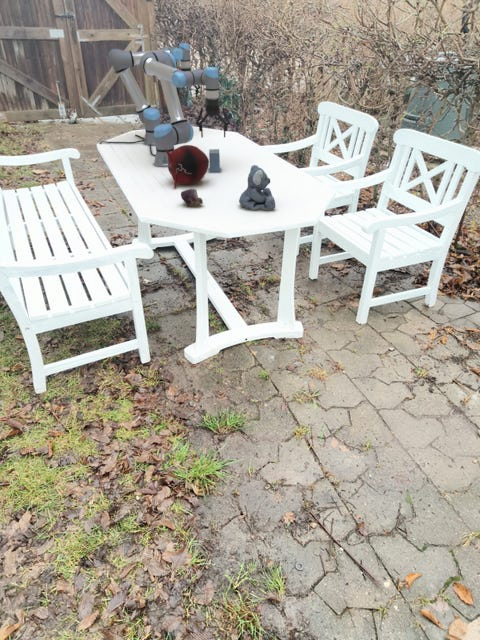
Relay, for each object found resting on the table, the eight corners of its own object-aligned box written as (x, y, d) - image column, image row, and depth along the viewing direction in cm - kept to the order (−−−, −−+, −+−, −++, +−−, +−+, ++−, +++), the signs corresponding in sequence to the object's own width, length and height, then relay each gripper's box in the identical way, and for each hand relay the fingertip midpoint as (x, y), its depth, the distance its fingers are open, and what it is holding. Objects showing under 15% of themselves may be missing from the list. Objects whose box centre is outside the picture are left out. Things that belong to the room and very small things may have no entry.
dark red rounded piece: (166, 150, 266) (161, 149, 242) (205, 142, 265) (203, 139, 241) (175, 187, 273) (171, 189, 249) (213, 178, 272) (212, 180, 248)
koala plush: (276, 211, 223) (277, 171, 212) (240, 212, 222) (240, 172, 211) (271, 199, 237) (272, 161, 226) (237, 200, 236) (237, 162, 225)
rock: (196, 202, 238) (178, 205, 233) (194, 185, 234) (176, 188, 230) (205, 205, 228) (187, 208, 224) (203, 188, 224) (185, 191, 220)
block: (220, 172, 278) (219, 153, 271) (210, 172, 278) (209, 153, 271) (219, 168, 285) (219, 149, 279) (210, 168, 285) (209, 149, 278)
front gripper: (233, 97, 262) (233, 135, 274) (190, 97, 261) (192, 135, 273) (234, 99, 256) (234, 138, 268) (190, 99, 254) (192, 138, 267)
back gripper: (202, 67, 338) (204, 98, 350) (169, 67, 337) (172, 98, 349) (202, 68, 332) (203, 99, 344) (168, 68, 331) (171, 100, 343)
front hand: (213, 137), depth 270 cm, fingers open, 13 cm apart
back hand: (187, 99), depth 346 cm, fingers open, 13 cm apart
